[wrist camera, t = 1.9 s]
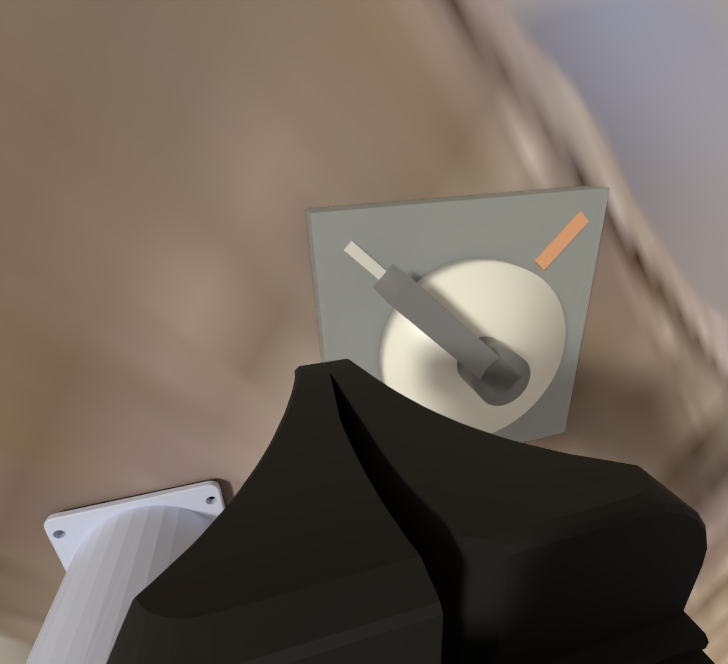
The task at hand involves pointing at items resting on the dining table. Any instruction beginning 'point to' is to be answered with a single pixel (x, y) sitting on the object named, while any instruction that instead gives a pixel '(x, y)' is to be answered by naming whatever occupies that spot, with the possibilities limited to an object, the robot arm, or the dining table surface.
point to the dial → (471, 339)
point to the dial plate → (450, 243)
